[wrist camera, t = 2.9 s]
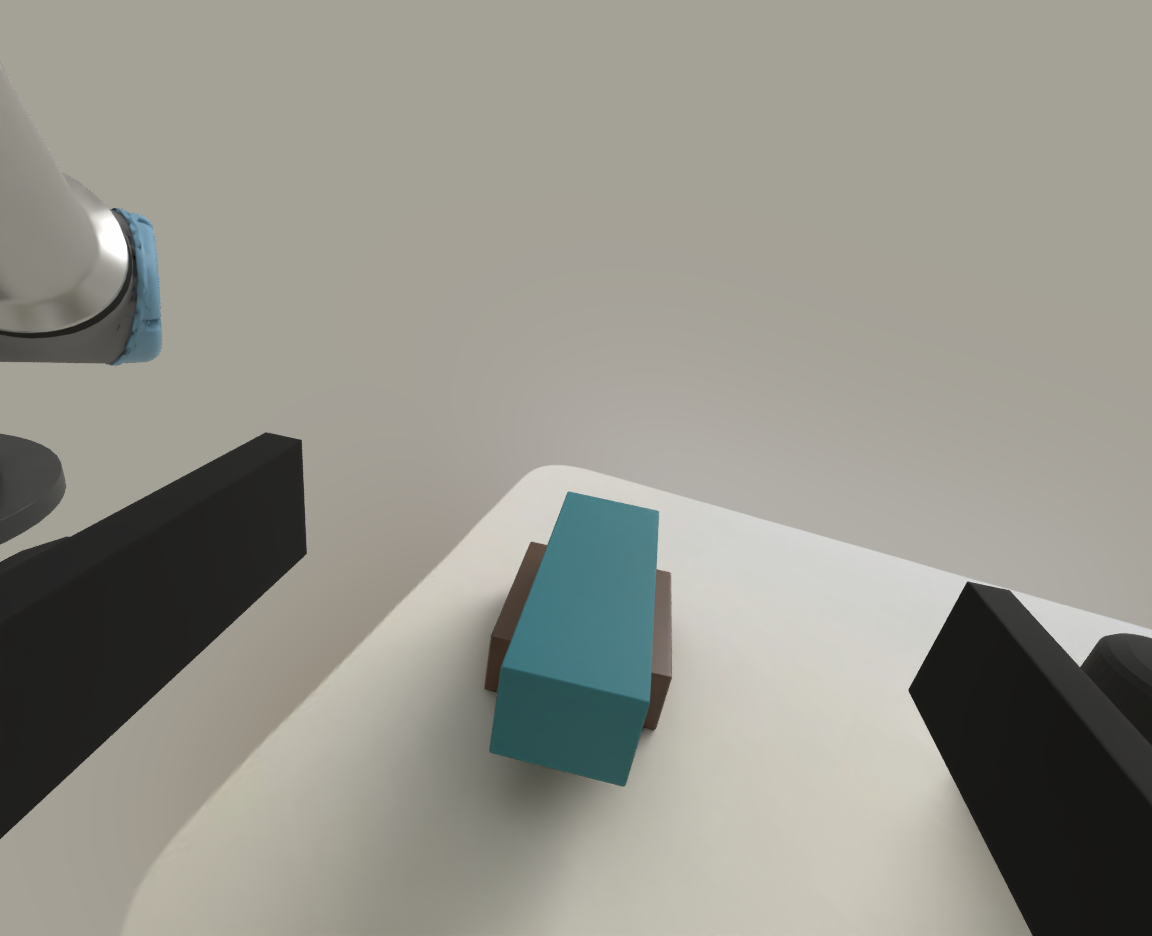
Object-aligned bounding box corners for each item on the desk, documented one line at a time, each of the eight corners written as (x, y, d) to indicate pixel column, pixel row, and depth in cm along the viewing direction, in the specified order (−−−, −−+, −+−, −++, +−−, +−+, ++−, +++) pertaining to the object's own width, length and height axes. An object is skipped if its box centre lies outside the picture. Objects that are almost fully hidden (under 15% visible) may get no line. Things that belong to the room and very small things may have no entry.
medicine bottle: (1016, 895, 27) (1168, 713, 22) (953, 764, 33) (1058, 600, 28) (1178, 939, 26) (1373, 762, 21) (1082, 797, 33) (1213, 636, 28)
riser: (483, 689, 33) (490, 635, 31) (523, 586, 42) (530, 541, 40) (655, 730, 32) (672, 678, 31) (658, 617, 41) (671, 572, 40)
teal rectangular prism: (488, 753, 25) (500, 666, 23) (556, 554, 39) (567, 490, 37) (625, 788, 24) (650, 702, 22) (643, 574, 39) (659, 510, 37)
